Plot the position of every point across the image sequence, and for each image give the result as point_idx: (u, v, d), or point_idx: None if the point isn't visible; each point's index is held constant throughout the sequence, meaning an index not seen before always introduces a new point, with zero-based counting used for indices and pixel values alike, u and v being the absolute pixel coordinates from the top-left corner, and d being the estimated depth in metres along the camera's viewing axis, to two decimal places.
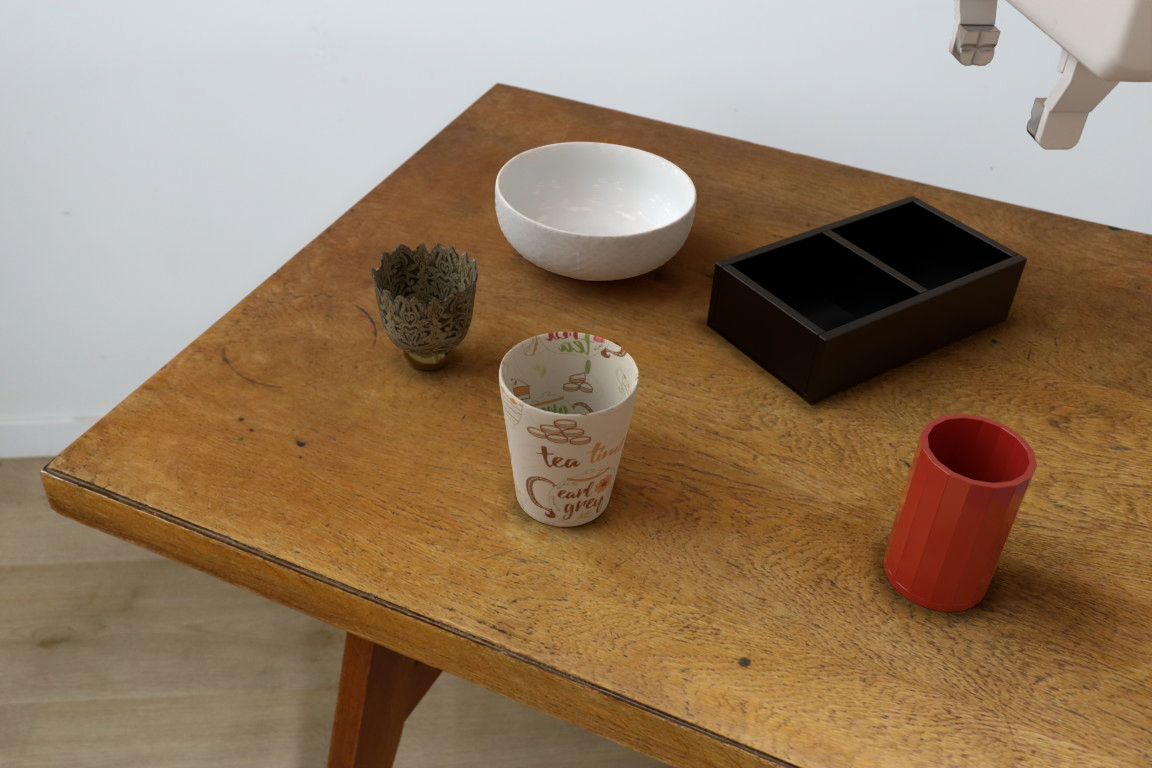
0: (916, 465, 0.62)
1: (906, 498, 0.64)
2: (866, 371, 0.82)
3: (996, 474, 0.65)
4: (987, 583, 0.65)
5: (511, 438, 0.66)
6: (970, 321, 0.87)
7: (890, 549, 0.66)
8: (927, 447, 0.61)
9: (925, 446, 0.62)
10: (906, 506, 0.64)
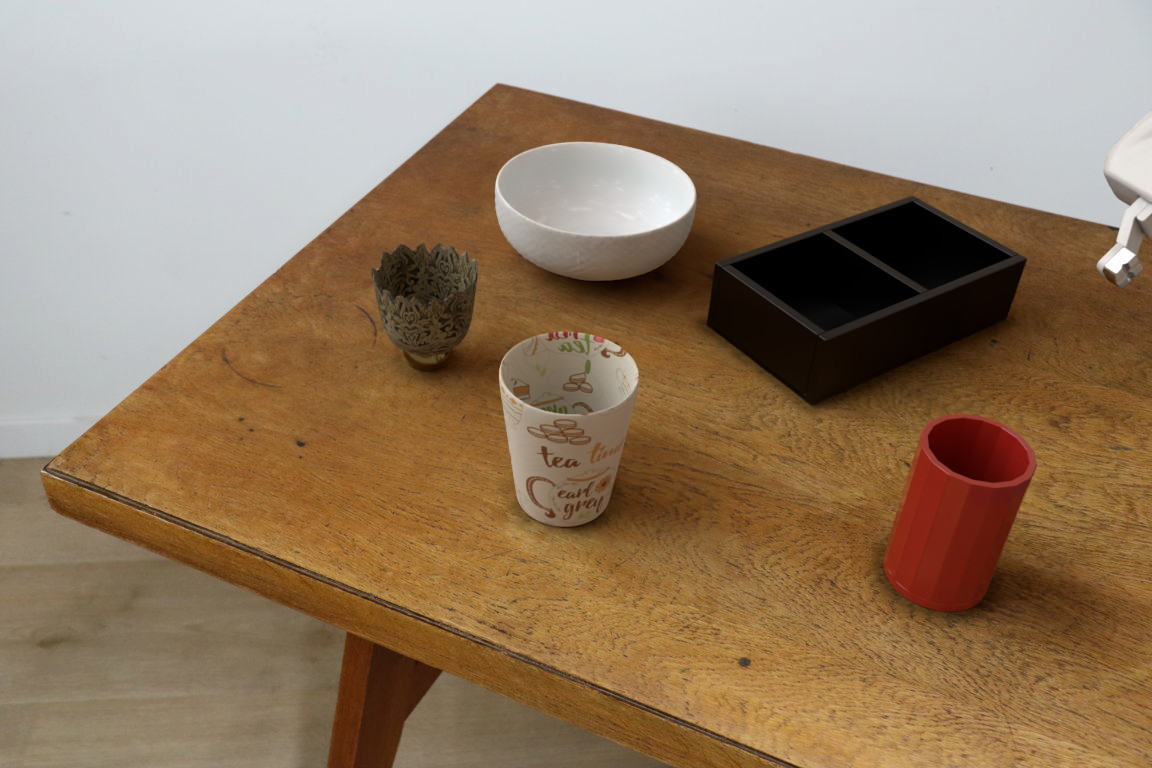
0: (916, 465, 0.62)
1: (906, 498, 0.64)
2: (866, 371, 0.82)
3: (996, 474, 0.65)
4: (987, 583, 0.65)
5: (511, 438, 0.66)
6: (970, 321, 0.87)
7: (890, 549, 0.66)
8: (927, 447, 0.61)
9: (925, 446, 0.62)
10: (906, 506, 0.64)
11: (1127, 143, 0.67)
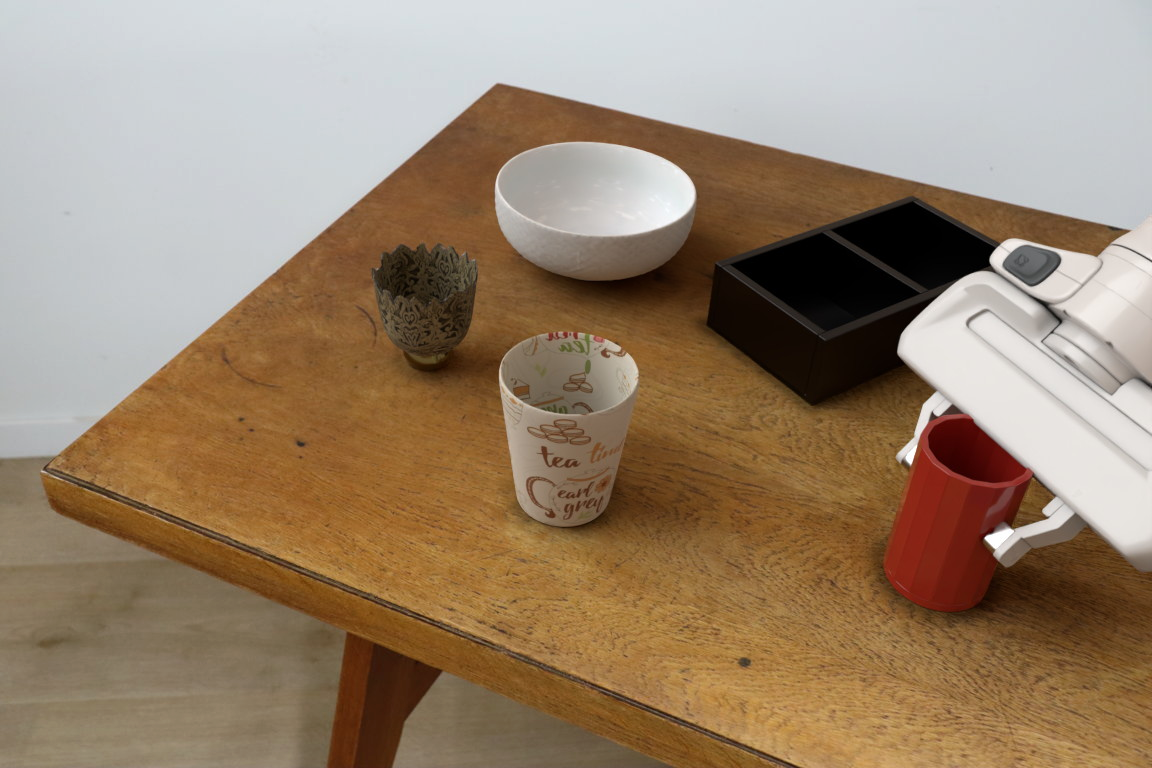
0: (916, 465, 0.62)
1: (906, 498, 0.64)
2: (866, 371, 0.82)
3: (996, 474, 0.65)
4: (987, 583, 0.65)
5: (511, 438, 0.66)
6: None
7: (890, 549, 0.66)
8: (927, 447, 0.61)
9: (925, 446, 0.62)
10: (906, 506, 0.64)
11: (917, 327, 0.68)
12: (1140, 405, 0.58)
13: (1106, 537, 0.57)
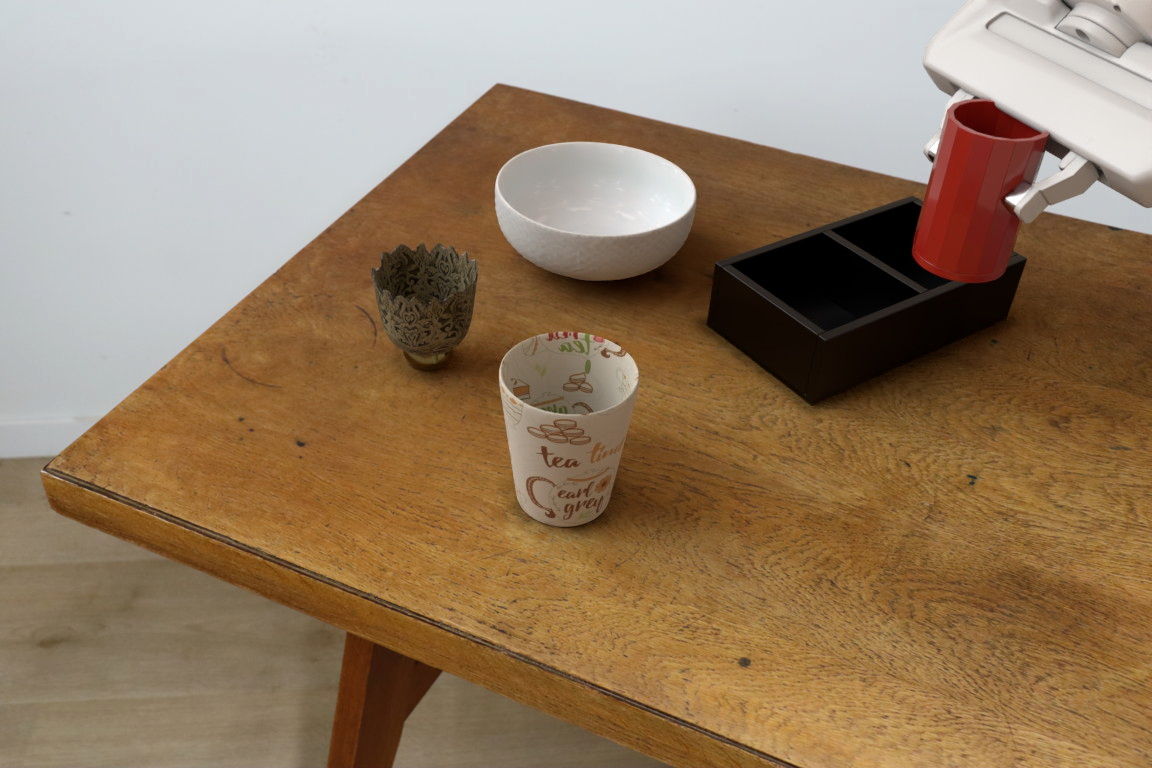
0: (943, 138, 0.69)
1: (934, 174, 0.71)
2: (866, 371, 0.82)
3: None
4: (1007, 255, 0.72)
5: (511, 438, 0.66)
6: (970, 321, 0.87)
7: (918, 232, 0.73)
8: (953, 117, 0.68)
9: (951, 117, 0.68)
10: (934, 182, 0.71)
11: (941, 37, 0.75)
12: (1145, 60, 0.65)
13: (1116, 171, 0.64)
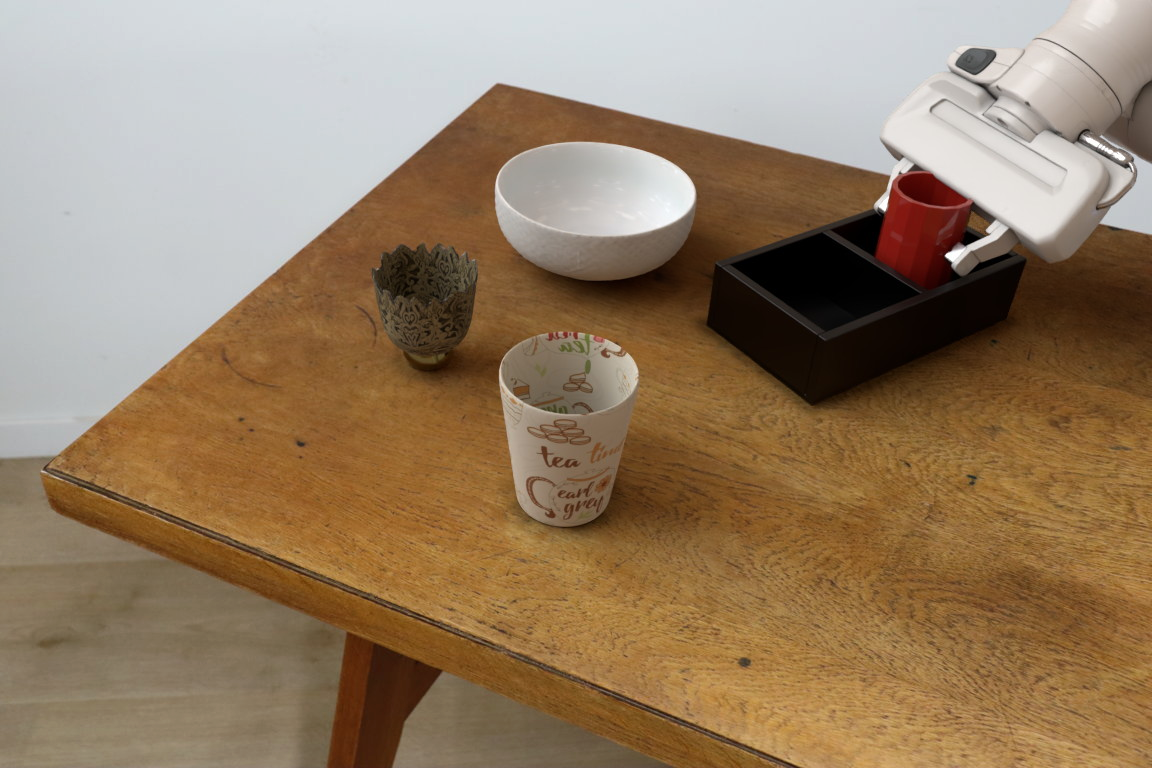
0: (889, 203, 0.86)
1: (882, 232, 0.88)
2: (866, 371, 0.82)
3: None
4: None
5: (511, 438, 0.66)
6: (970, 321, 0.87)
7: None
8: (897, 187, 0.85)
9: (895, 187, 0.85)
10: (882, 238, 0.88)
11: (894, 117, 0.92)
12: (1049, 146, 0.82)
13: (1024, 234, 0.80)
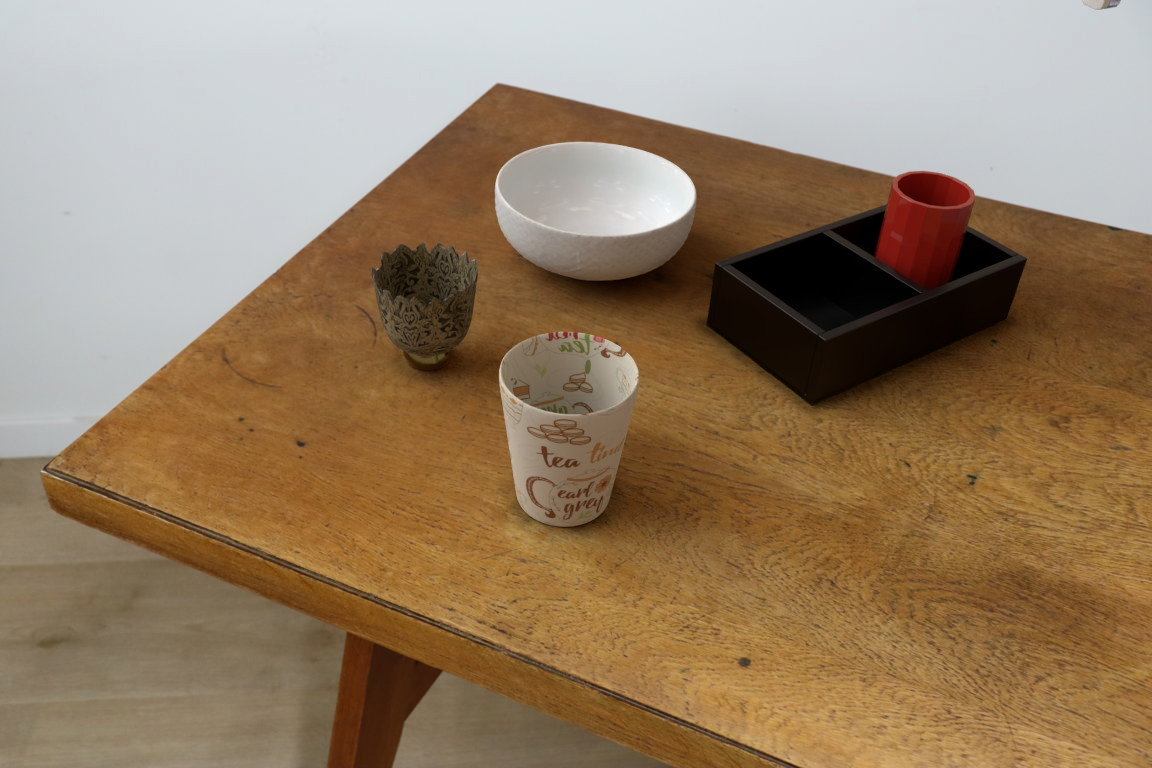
0: (889, 203, 0.86)
1: (882, 232, 0.88)
2: (866, 371, 0.82)
3: None
4: None
5: (511, 438, 0.66)
6: (970, 321, 0.87)
7: None
8: (897, 187, 0.85)
9: (895, 187, 0.85)
10: (882, 238, 0.88)
11: None
12: None
13: None
